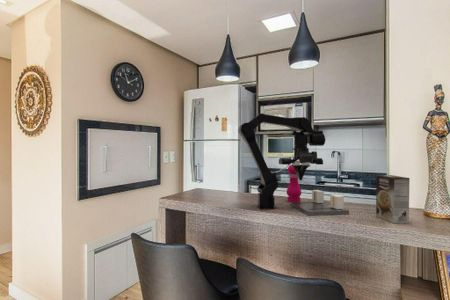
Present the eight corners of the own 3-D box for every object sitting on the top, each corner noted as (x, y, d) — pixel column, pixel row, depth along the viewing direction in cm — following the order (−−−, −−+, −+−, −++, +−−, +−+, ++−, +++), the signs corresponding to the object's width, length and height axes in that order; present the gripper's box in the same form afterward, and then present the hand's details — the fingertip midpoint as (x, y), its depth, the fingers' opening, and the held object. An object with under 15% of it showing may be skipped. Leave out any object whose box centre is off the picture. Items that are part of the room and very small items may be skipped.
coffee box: (375, 216, 97) (375, 174, 97) (390, 216, 97) (390, 174, 97) (392, 223, 88) (393, 177, 88) (410, 223, 88) (410, 177, 88)
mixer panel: (308, 215, 98) (308, 211, 98) (290, 204, 118) (290, 201, 117) (349, 214, 100) (349, 210, 100) (324, 203, 119) (324, 200, 119)
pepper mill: (302, 203, 121) (302, 161, 121) (286, 202, 123) (286, 161, 123) (300, 200, 129) (300, 160, 128) (286, 199, 130) (286, 160, 130)
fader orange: (336, 209, 101) (336, 196, 101) (330, 206, 106) (330, 194, 106) (343, 208, 102) (343, 196, 102) (337, 206, 107) (337, 194, 107)
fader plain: (317, 203, 113) (317, 191, 113) (312, 200, 118) (312, 190, 118) (323, 202, 113) (323, 191, 113) (318, 200, 118) (318, 189, 118)
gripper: (286, 145, 104) (286, 183, 104) (329, 145, 106) (329, 182, 106) (278, 145, 115) (278, 179, 115) (317, 146, 117) (317, 179, 117)
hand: (300, 180), depth 113 cm, fingers closed
